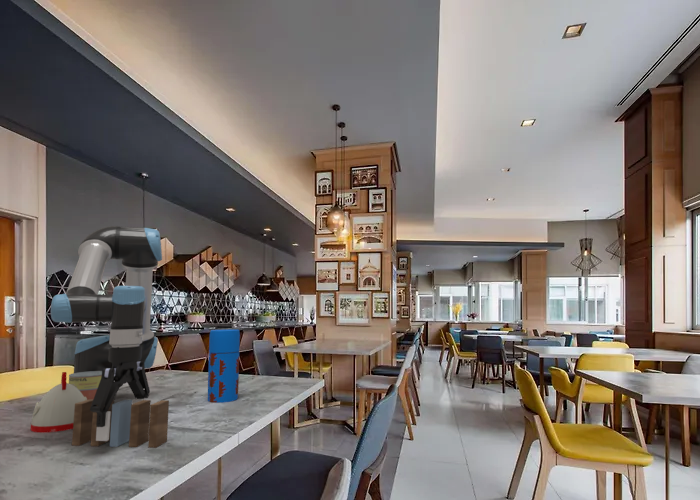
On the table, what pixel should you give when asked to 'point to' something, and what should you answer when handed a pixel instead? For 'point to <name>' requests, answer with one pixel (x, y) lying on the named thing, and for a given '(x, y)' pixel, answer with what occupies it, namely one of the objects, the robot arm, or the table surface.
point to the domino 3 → (120, 423)
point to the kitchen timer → (56, 408)
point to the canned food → (86, 382)
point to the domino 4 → (139, 423)
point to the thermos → (223, 366)
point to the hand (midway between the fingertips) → (120, 432)
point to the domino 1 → (82, 423)
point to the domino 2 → (94, 428)
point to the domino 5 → (158, 423)
